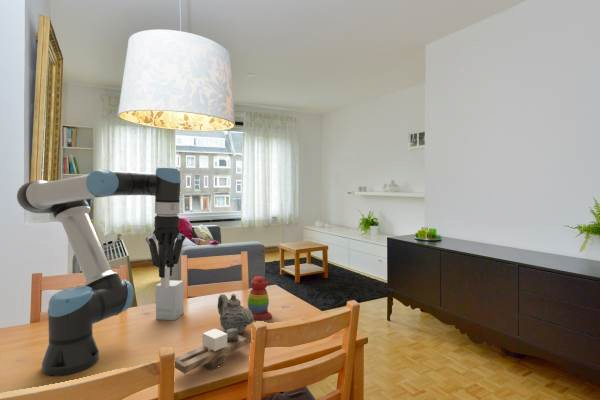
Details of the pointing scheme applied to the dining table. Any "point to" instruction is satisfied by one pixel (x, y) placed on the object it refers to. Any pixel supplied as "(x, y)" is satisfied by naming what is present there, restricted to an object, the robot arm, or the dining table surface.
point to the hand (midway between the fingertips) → (165, 286)
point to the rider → (214, 339)
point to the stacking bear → (259, 299)
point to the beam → (209, 354)
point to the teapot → (233, 313)
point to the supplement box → (170, 300)
